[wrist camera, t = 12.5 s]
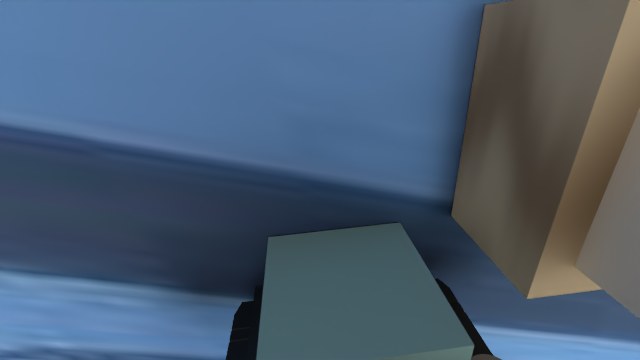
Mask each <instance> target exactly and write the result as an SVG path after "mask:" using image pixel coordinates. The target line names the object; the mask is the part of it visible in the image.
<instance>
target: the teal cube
mask: <svg viewBox="0 0 640 360" xmlns="http://www.w3.org/2000/svg"><path fill="white" fill-rule="evenodd" d="M473 349H474V344H473V342H472V340H471V339H470V337H469V335H468V334H467V332H466V330H465V329H464V327H463V325H462V324H461V322H460V321H459V319H458V317H457V316H456V314H455V312H454V311H453V309H452V307H451V306H450V304H449V302H448V301H447V299H446V297H445V296H444V294H443V292H442V291H441V289H440V288H439V286H438V284H437V283H436V281H435V279H434V278H433V276H432V274H431V273H430V271H429V269H428V268H427V266H426V264H425V263H424V261H423V260H422V258H421V256H420V255H419V253H418V251H417V250H416V248H415V246H414V245H413V243H412V241H411V240H410V238H409V236H408V235H407V233H406V232H405V230H404V228H403V227H402V225H401V223H391V224H382V225H373V226H364V227H355V228H346V229H337V230H328V231H319V232H310V233H301V234H292V235H284V236H275V237H268V246H267V256H266V266H265V276H264V286H263V296H262V306H261V317H260V327H259V337H258V347H257V357H256V360H471V357H472V353H473Z"/></svg>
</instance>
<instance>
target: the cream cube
mask: <svg viewBox="0 0 640 360" xmlns="http://www.w3.org/2000/svg"><path fill="white" fill-rule="evenodd" d="M574 267H576V268H577V269H578V270H579V271H581V272H582V273H583V274H584V275H586V276H587V277H588V278H589V279H590V280H592V281H593V282H594V283H595V284H597V285H598V286H599V287H600V288H602V289H603V290H604V291H605V292H607V293H608V294H609V295H610V296H612V297H613V298H614V299H615V300H617V301H618V302H619V303H620V304H622V305H623V306H624V307H625V308H627V309H628V310H629V311H630V312H632V313H633V314H634V315H635V316H637V317H638V318H639V319H640V108H639V111H638V113H637V116H636V118H635V121H634V123H633V125H632V128H631V130H630V133H629V135H628V137H627V140H626V142H625V145H624V147H623V150H622V152H621V154H620V157H619V159H618V162H617V164H616V166H615V169H614V171H613V174H612V176H611V179H610V181H609V183H608V186H607V188H606V191H605V193H604V196H603V198H602V200H601V203H600V205H599V208H598V210H597V212H596V215H595V217H594V220H593V222H592V225H591V227H590V229H589V232H588V234H587V237H586V239H585V241H584V244H583V246H582V249H581V251H580V254H579V256H578V258H577V261H576V263H575V266H574Z"/></svg>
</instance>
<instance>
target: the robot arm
mask: <svg viewBox="0 0 640 360" xmlns="http://www.w3.org/2000/svg"><path fill="white" fill-rule="evenodd" d="M435 281H436V283H437V284H438V286H439V288H440V289H441V291H442V292H443V294H444V296H445V297H446V299H447V301H448V302H449V304H450V306H451V307H452V309H453V311H454V312H455V314H456V316H457V317H458V319H459V321H460V322H461V324H462V325H463V327H464V329H465V330H466V332H467V334H468V335H469V337H470V339H471V340H472V342H473V344H474V349H473V353H472V357H471V360H501V359H499V358H497V357H495V356H494V355H493V354H492V353H491V352H490V350H489V349H488V347H487V346H486V344H485V342H484V341H483V339H482V338H481V336H480V335H479V333H478V332H477V330H476V328H475V327H474V325H473V324H472V322H471V321H470V319H469V318H468V316H467V314H466V313H465V312H464V310H463V308H462V307H461V305H460V304H459V302H457V299H456V297H455V296H454V294H453V293H452V291H451V290H450V288H449V287H448V286H446V285H445V284H444V283H443V282H441V281H440V280H439V279H435ZM263 286H264V285H259V286H256V287H255V293H254V301H248V302H242V304H241V305H240V307H239V308H238V310H237V311H236V313H235V315H234V320H233V325H232V331H231V335H230V343H229V346H228V351H227V356H226V360H256V357H257V347H258V337H259V327H260V317H261V306H262V296H263Z"/></svg>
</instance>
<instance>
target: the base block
mask: <svg viewBox="0 0 640 360" xmlns="http://www.w3.org/2000/svg"><path fill="white" fill-rule="evenodd" d="M639 108H640V0H511V1H505V2H499V3H493V4H486V5H485V7H484V13H483V19H482V26H481V32H480V38H479V44H478V51H477V57H476V63H475V70H474V76H473V82H472V88H471V95H470V101H469V107H468V113H467V120H466V126H465V132H464V139H463V145H462V151H461V157H460V164H459V170H458V176H457V182H456V189H455V195H454V201H453V207H452V214H451V216H452V217H453V218H454V220H455V221H456V222H457V223H458V224H459V225H460V226H461V227H462V228H463V229H464V231H465V232H466V233H467V234H468V235H469V236H470V237H471V238H472V239H473V240H474V242H475V243H476V244H477V245H478V246H479V247H480V248H481V249H482V250H483V251H484V253H485V254H486V255H487V256H488V257H489V258H490V259H491V260H492V261H493V262H494V264H495V265H496V266H497V267H498V268H499V269H500V270H501V271H502V272H503V273H504V275H505V276H506V277H507V278H508V279H509V280H510V281H511V282H512V283H513V285H514V286H515V287H516V288H517V289H518V290H519V291H520V292H521V293H522V294H523V296H524V297H525V298H526V299H530V298H538V297H546V296H554V295H561V294H569V293H577V292H585V291H592V290H600V289H602V288H600V287H599V286H598V285H597V284H595V283H594V282H593V281H592V280H590V279H589V278H588V277H587V276H586V275H584V274H583V273H582V272H581V271H579V270H578V269H577V268H576V267H574V266H575V263H576V261H577V258H578V256H579V254H580V251H581V249H582V246H583V244H584V241H585V239H586V237H587V234H588V232H589V229H590V227H591V225H592V222H593V220H594V217H595V215H596V212H597V210H598V208H599V205H600V203H601V200H602V198H603V196H604V193H605V191H606V188H607V186H608V183H609V181H610V179H611V176H612V174H613V171H614V169H615V166H616V164H617V162H618V159H619V157H620V154H621V152H622V150H623V147H624V145H625V142H626V140H627V137H628V135H629V133H630V130H631V128H632V125H633V123H634V121H635V118H636V116H637V113H638V111H639Z"/></svg>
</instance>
